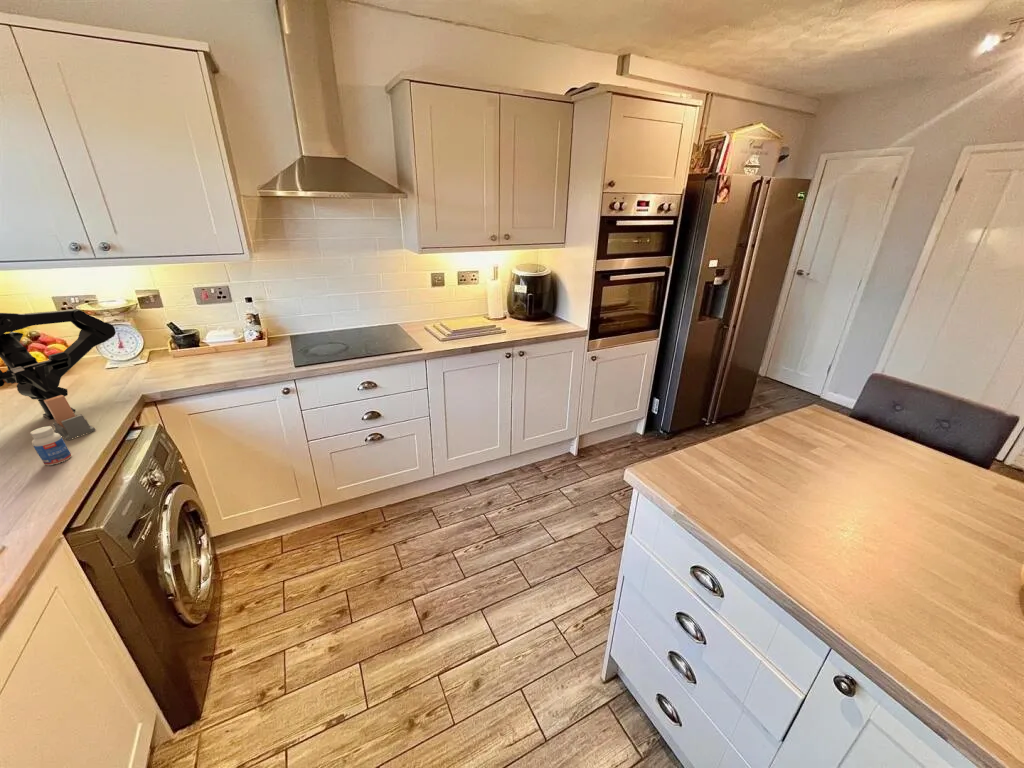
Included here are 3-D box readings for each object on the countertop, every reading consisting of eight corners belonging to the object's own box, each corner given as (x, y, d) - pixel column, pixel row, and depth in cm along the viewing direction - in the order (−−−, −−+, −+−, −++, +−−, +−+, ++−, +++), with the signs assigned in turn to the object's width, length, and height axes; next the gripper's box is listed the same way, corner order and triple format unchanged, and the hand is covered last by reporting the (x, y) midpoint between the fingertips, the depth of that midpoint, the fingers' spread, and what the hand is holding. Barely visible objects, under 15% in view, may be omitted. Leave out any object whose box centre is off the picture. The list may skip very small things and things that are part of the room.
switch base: (55, 433, 126) (45, 416, 124) (82, 423, 131) (73, 407, 129) (68, 440, 122) (58, 423, 119) (95, 430, 127) (86, 413, 124)
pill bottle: (54, 467, 110) (35, 436, 106) (39, 465, 111) (19, 434, 107) (77, 455, 115) (60, 425, 111) (63, 453, 116) (45, 424, 112)
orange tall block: (60, 428, 126) (43, 400, 122) (77, 422, 129) (61, 394, 125) (63, 430, 125) (46, 401, 121) (80, 424, 128) (64, 396, 124)
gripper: (53, 355, 136) (86, 390, 137) (-30, 377, 121) (6, 417, 122) (52, 336, 130) (86, 373, 131) (-36, 357, 115) (2, 399, 115)
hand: (47, 390), depth 125 cm, fingers closed
